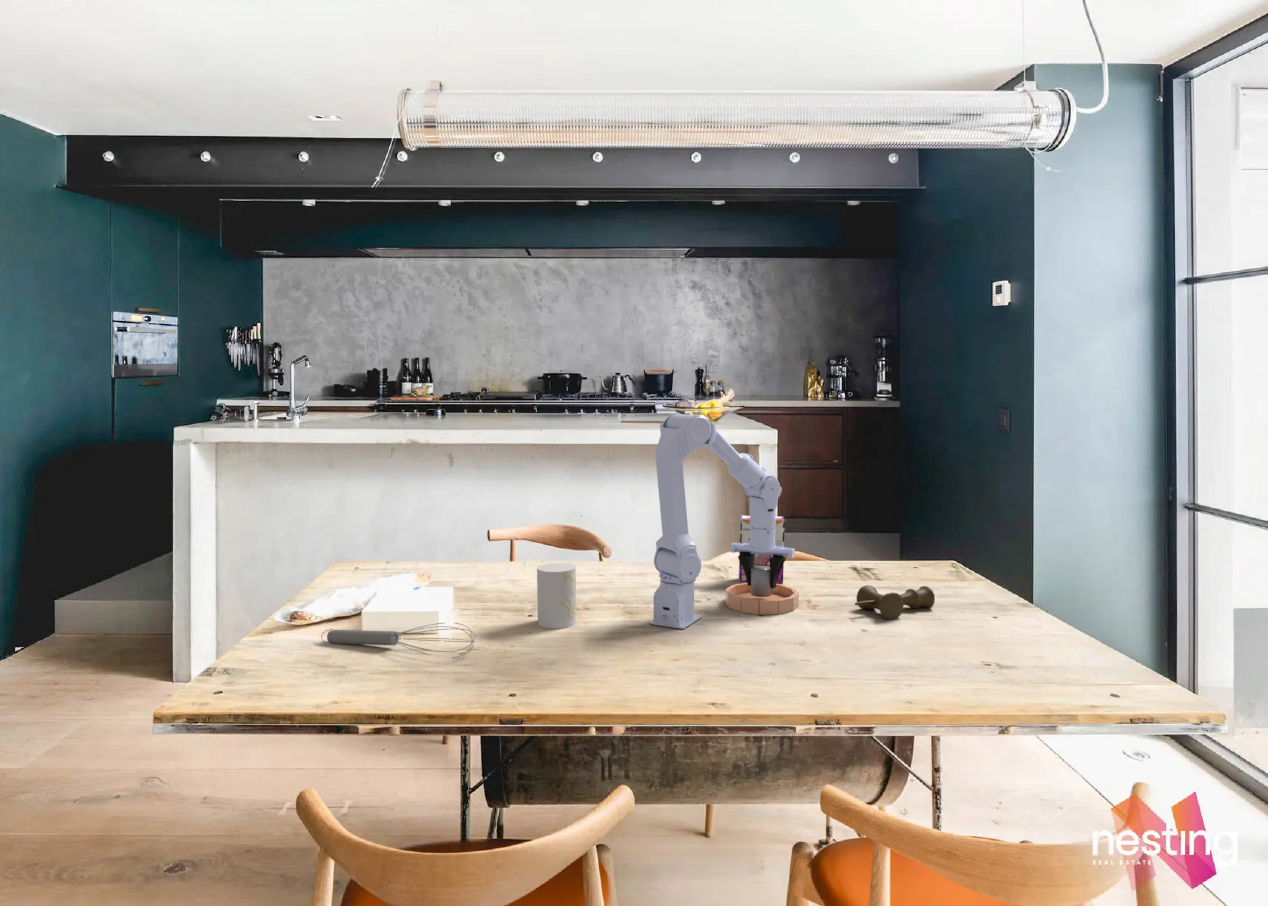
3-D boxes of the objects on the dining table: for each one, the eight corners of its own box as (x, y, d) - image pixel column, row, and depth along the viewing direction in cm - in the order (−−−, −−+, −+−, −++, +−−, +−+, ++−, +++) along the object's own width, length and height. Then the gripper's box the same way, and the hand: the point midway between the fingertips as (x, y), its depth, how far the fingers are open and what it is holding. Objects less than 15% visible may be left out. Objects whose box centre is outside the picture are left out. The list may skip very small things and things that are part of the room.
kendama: (943, 615, 182) (868, 623, 175) (913, 605, 191) (841, 612, 183) (944, 588, 182) (869, 595, 174) (914, 579, 191) (841, 585, 183)
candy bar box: (739, 583, 208) (739, 518, 206) (738, 578, 213) (739, 515, 211) (784, 584, 207) (785, 519, 205) (782, 579, 212) (783, 515, 210)
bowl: (785, 618, 178) (785, 604, 178) (715, 608, 186) (715, 595, 185) (805, 599, 192) (806, 587, 192) (740, 591, 200) (740, 579, 199)
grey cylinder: (769, 597, 185) (769, 571, 185) (748, 595, 187) (748, 569, 187) (774, 592, 190) (774, 566, 189) (753, 590, 192) (753, 565, 191)
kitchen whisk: (331, 637, 167) (330, 606, 167) (482, 654, 158) (481, 621, 157) (311, 646, 162) (310, 615, 161) (466, 665, 152) (465, 631, 151)
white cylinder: (570, 629, 171) (569, 572, 170) (532, 627, 172) (531, 570, 171) (580, 618, 179) (580, 563, 178) (544, 616, 180) (543, 562, 179)
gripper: (799, 526, 187) (798, 585, 189) (738, 521, 194) (738, 578, 195) (789, 532, 181) (788, 592, 182) (727, 526, 188) (727, 585, 189)
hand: (761, 586), depth 189 cm, fingers closed on grey cylinder, 5 cm apart
